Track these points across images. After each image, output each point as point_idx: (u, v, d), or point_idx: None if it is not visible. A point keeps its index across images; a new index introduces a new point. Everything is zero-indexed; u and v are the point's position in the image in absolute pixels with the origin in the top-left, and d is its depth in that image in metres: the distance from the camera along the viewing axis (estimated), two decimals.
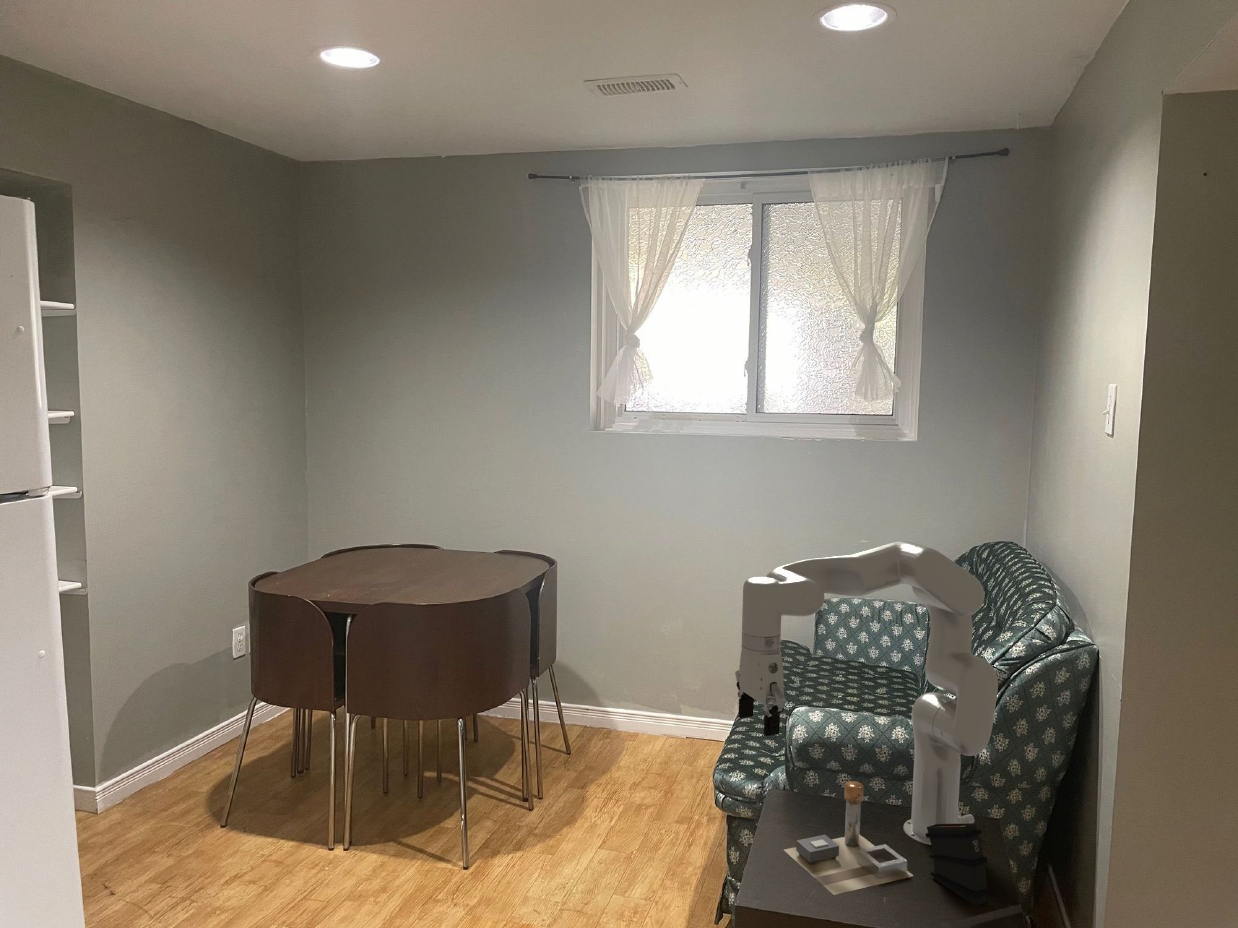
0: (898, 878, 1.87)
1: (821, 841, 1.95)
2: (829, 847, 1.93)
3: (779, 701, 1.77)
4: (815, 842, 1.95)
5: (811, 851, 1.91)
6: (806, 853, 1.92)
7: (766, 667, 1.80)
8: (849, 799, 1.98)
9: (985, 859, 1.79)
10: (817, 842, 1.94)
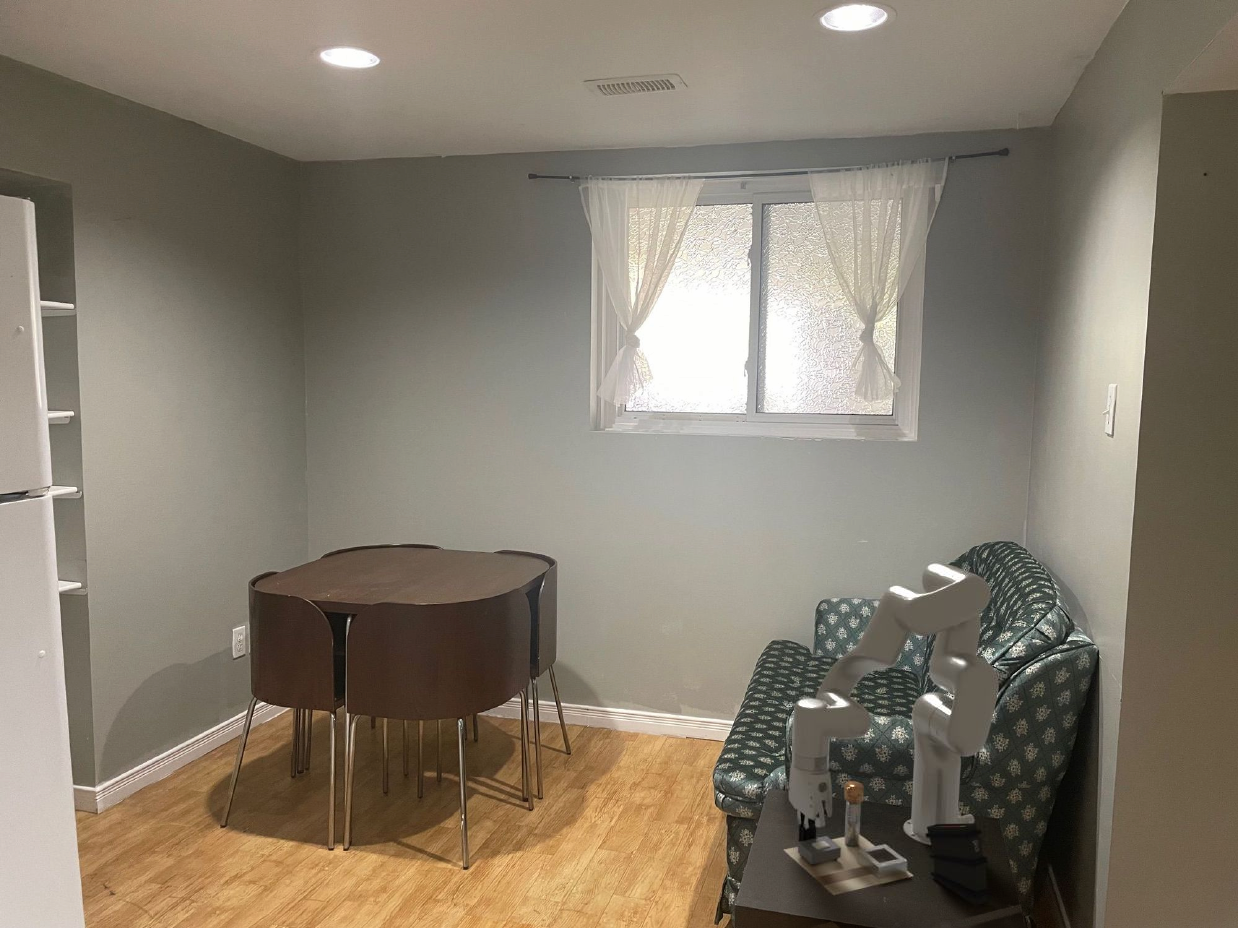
0: (898, 878, 1.87)
1: (823, 843, 1.94)
2: (831, 849, 1.93)
3: (818, 825, 1.93)
4: (817, 844, 1.94)
5: (813, 853, 1.91)
6: (808, 855, 1.92)
7: (816, 786, 1.92)
8: (849, 799, 1.98)
9: (985, 859, 1.79)
10: (819, 844, 1.94)
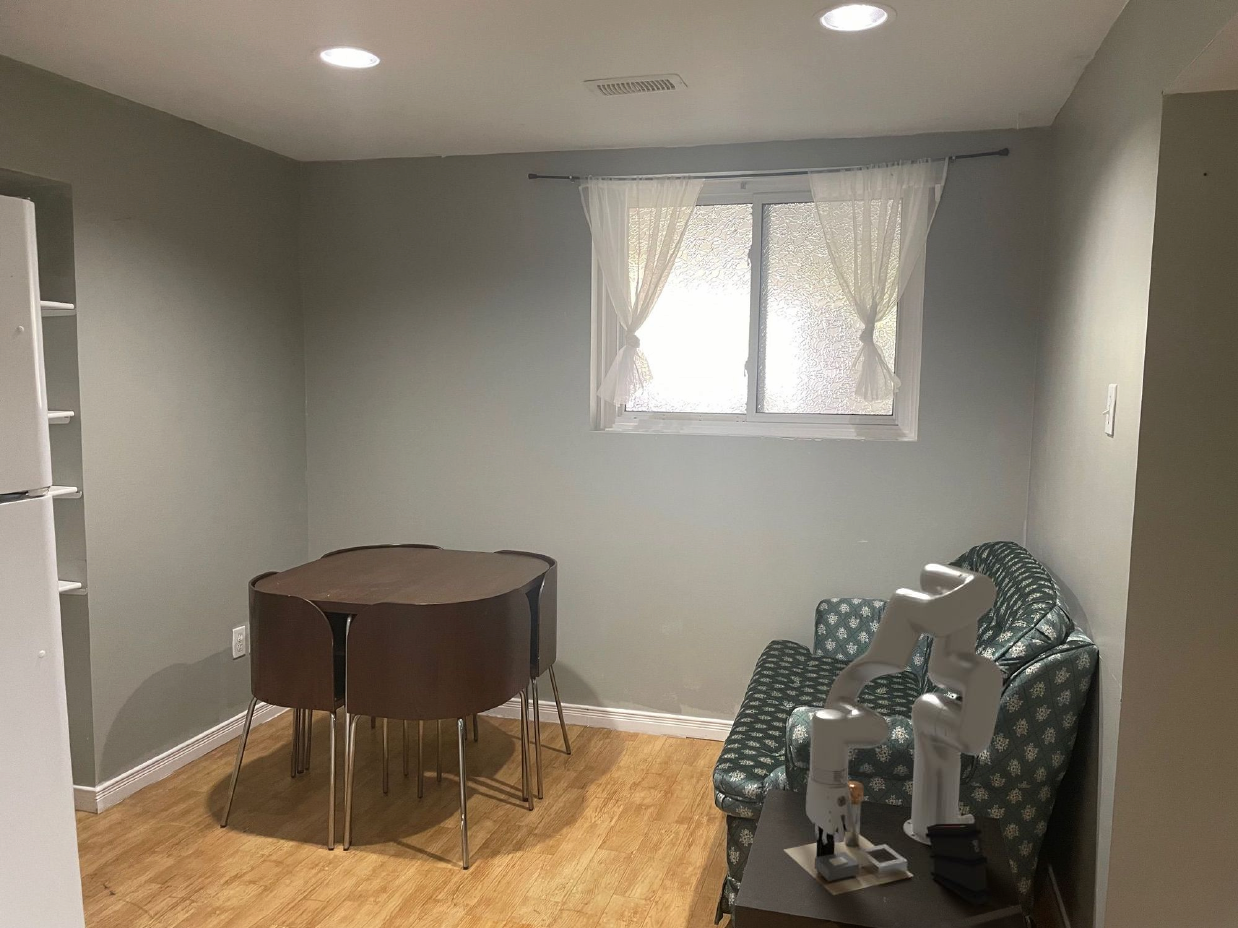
0: (898, 878, 1.87)
1: (840, 859, 1.88)
2: (849, 865, 1.86)
3: (837, 840, 1.87)
4: (834, 859, 1.88)
5: (830, 869, 1.85)
6: (825, 871, 1.86)
7: (835, 800, 1.86)
8: None
9: (985, 859, 1.79)
10: (836, 860, 1.88)
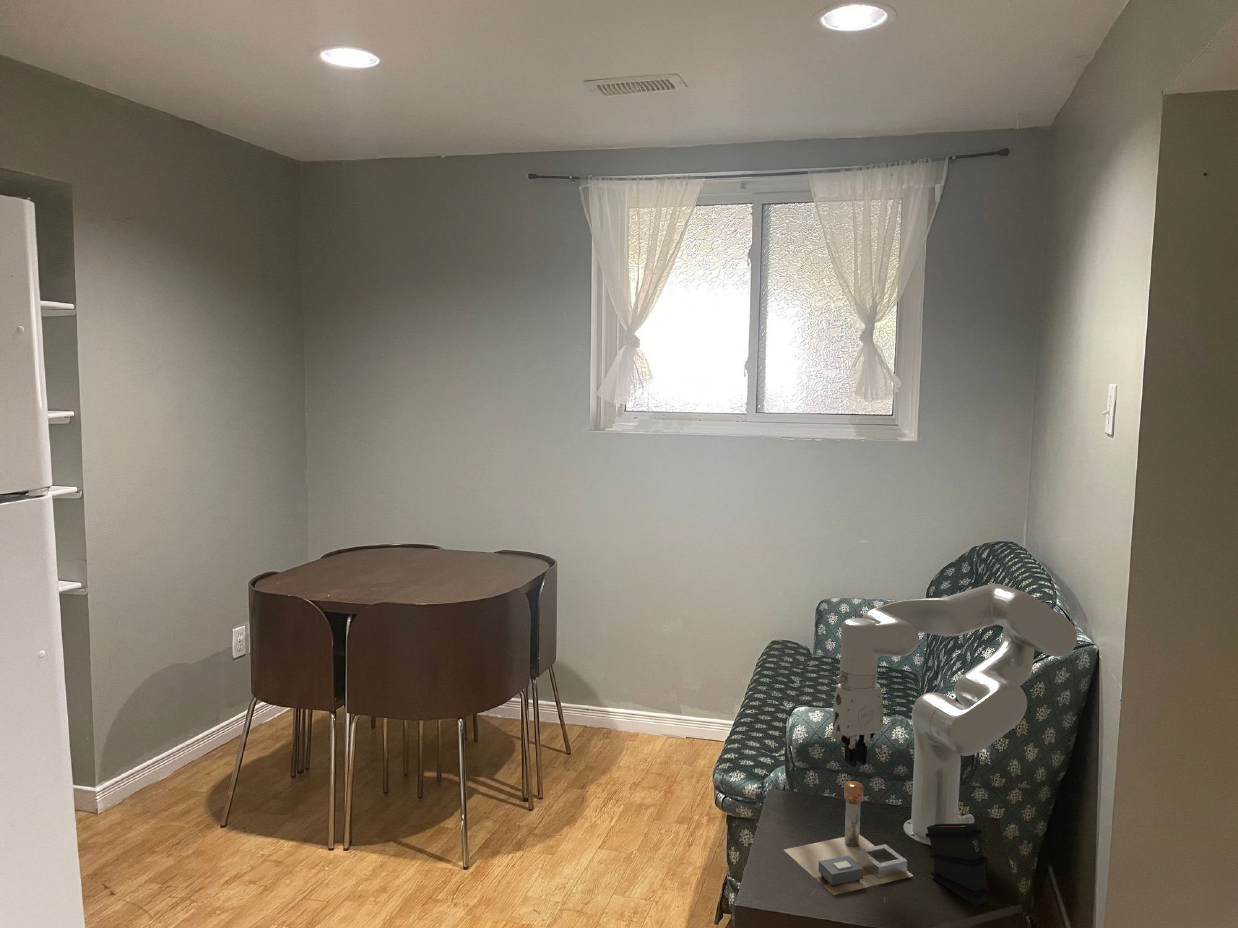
0: (898, 878, 1.87)
1: (844, 863, 1.87)
2: (853, 869, 1.85)
3: None
4: (838, 863, 1.86)
5: (834, 873, 1.83)
6: (828, 875, 1.84)
7: (835, 696, 1.97)
8: (849, 799, 1.98)
9: (985, 859, 1.79)
10: (840, 864, 1.86)
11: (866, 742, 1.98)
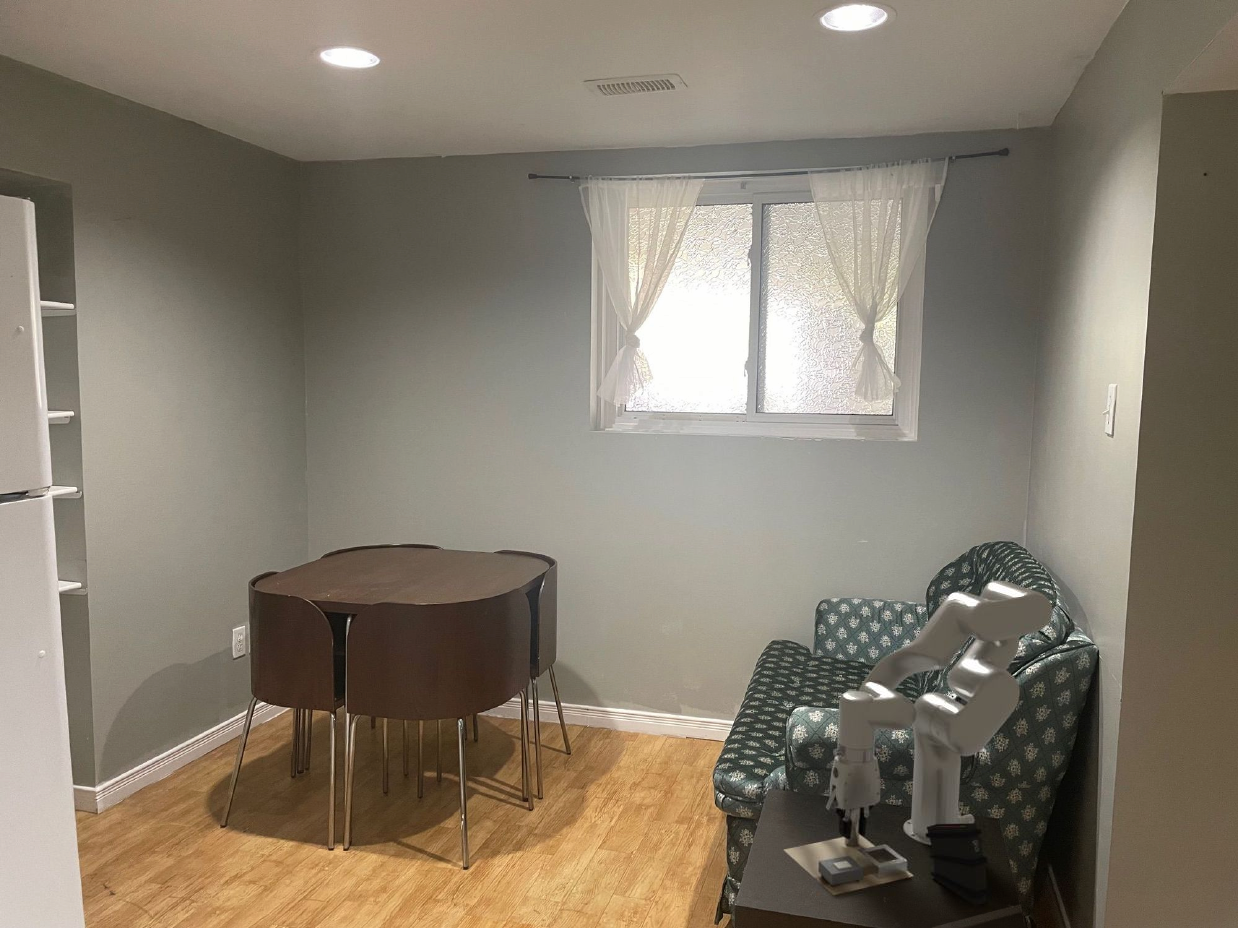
0: (898, 878, 1.87)
1: (844, 863, 1.87)
2: (853, 869, 1.85)
3: None
4: (838, 863, 1.86)
5: (834, 873, 1.83)
6: (828, 875, 1.84)
7: (832, 768, 1.98)
8: None
9: (985, 859, 1.79)
10: (840, 864, 1.86)
11: (865, 814, 2.00)
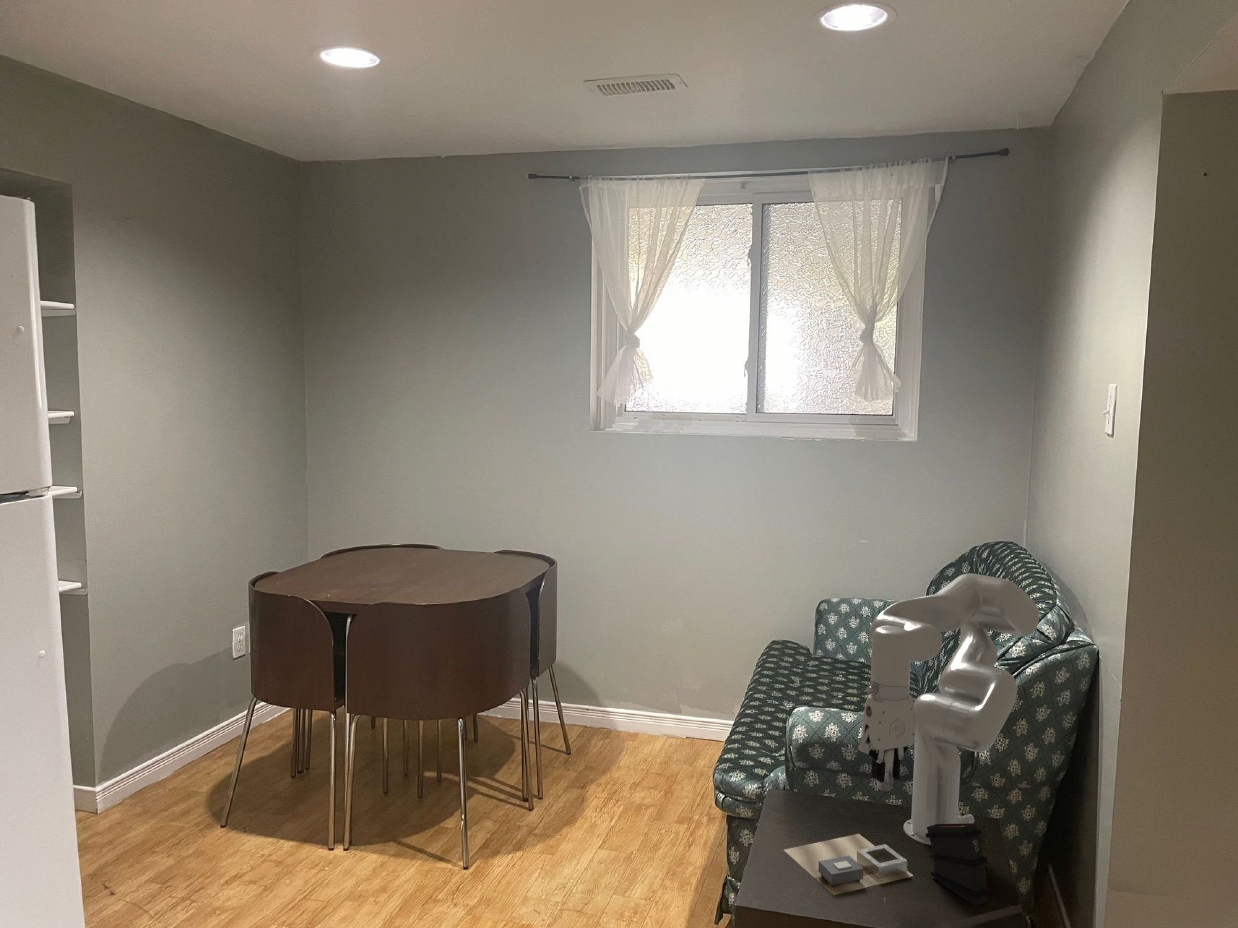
0: (898, 878, 1.87)
1: (844, 863, 1.87)
2: (853, 869, 1.85)
3: None
4: (838, 863, 1.86)
5: (834, 873, 1.83)
6: (828, 875, 1.84)
7: (865, 707, 1.87)
8: None
9: (985, 859, 1.79)
10: (840, 864, 1.86)
11: (899, 756, 1.89)
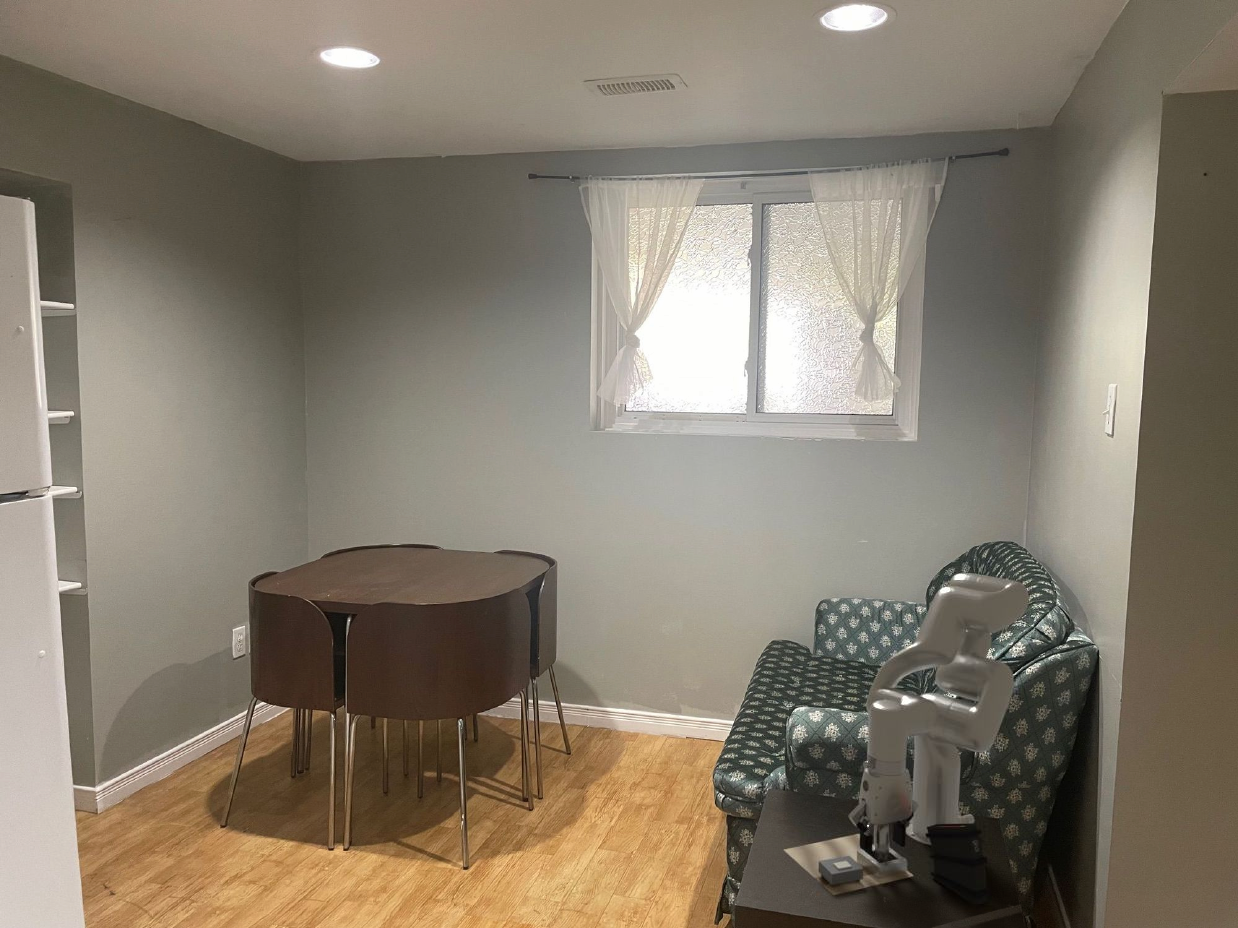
0: (898, 878, 1.87)
1: (844, 863, 1.87)
2: (853, 869, 1.85)
3: None
4: (838, 863, 1.86)
5: (834, 873, 1.83)
6: (828, 875, 1.84)
7: (862, 781, 1.89)
8: None
9: (985, 859, 1.79)
10: (840, 864, 1.86)
11: (905, 824, 1.91)
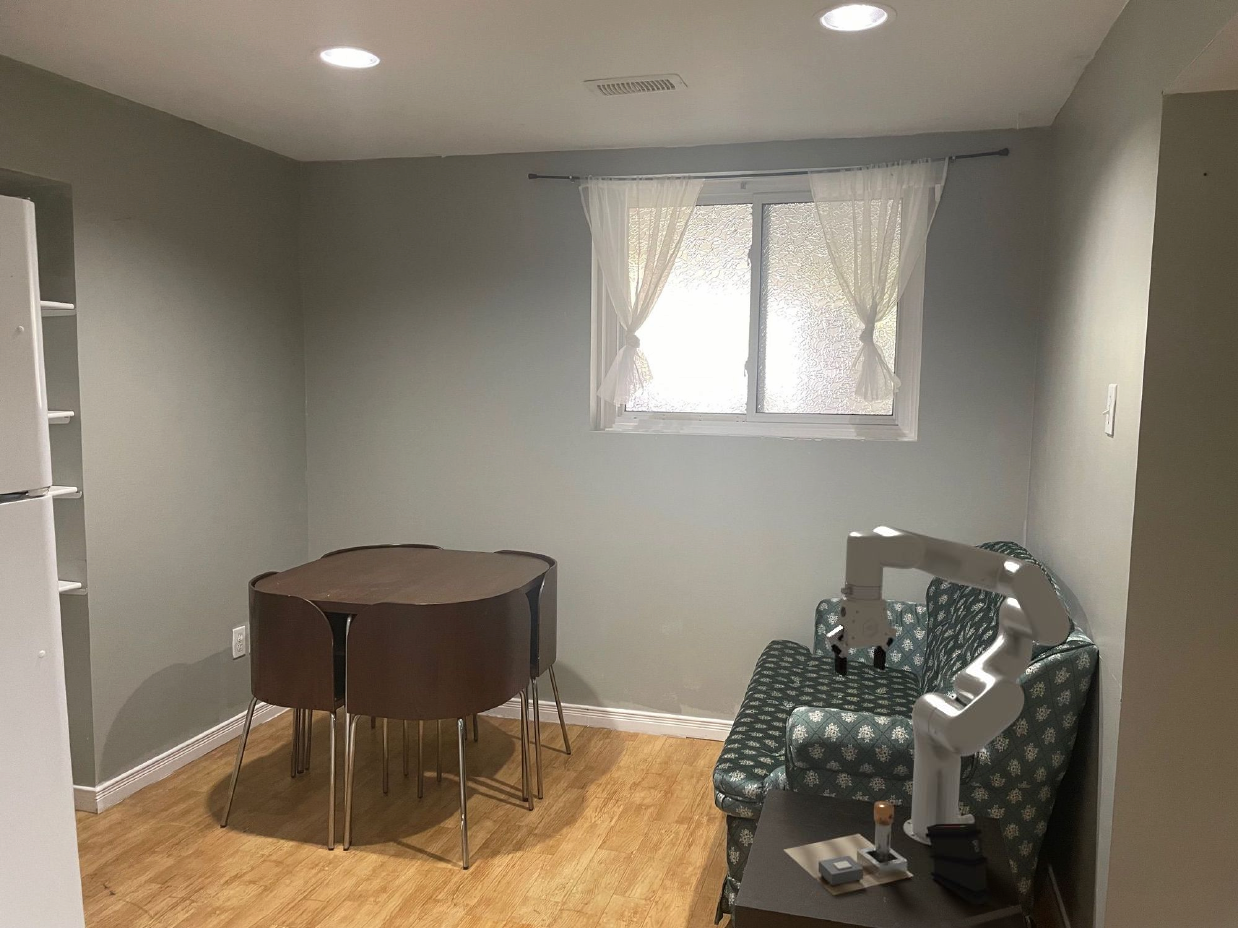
0: (898, 878, 1.87)
1: (844, 863, 1.87)
2: (853, 869, 1.85)
3: None
4: (838, 863, 1.86)
5: (834, 873, 1.83)
6: (828, 875, 1.84)
7: (840, 609, 1.96)
8: (879, 820, 1.89)
9: (985, 859, 1.79)
10: (840, 864, 1.86)
11: (885, 649, 1.98)
